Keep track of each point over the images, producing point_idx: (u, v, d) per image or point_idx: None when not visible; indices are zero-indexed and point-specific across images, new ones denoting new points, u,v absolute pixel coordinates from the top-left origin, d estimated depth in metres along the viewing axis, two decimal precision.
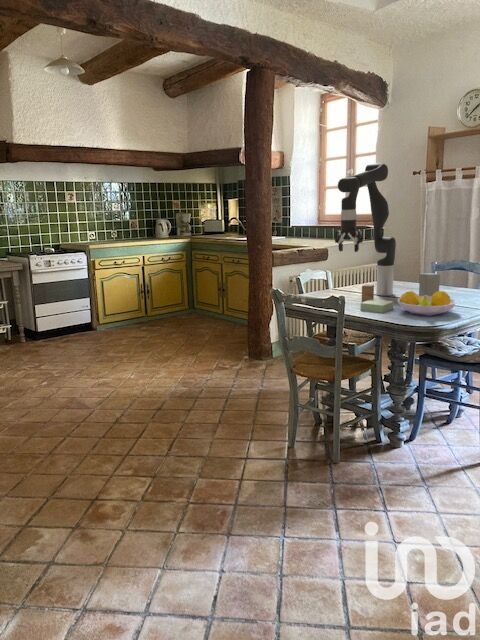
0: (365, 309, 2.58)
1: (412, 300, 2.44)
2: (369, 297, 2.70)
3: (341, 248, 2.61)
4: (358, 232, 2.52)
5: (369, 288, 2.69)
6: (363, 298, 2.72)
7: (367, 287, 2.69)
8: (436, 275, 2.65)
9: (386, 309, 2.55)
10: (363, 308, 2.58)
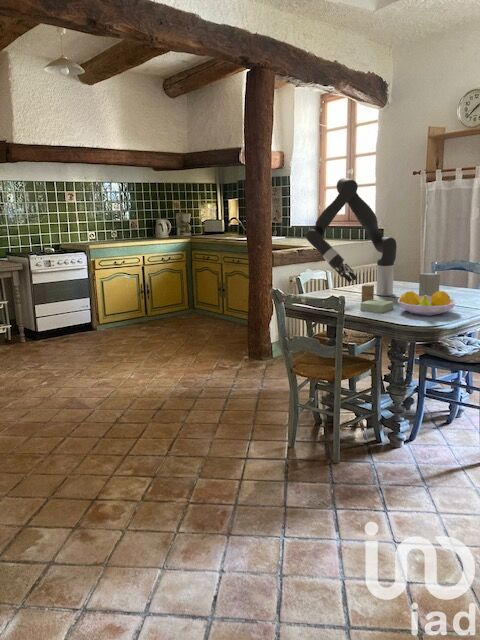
0: (365, 309, 2.58)
1: (412, 300, 2.44)
2: (369, 297, 2.70)
3: (353, 277, 2.79)
4: None
5: (369, 288, 2.69)
6: (363, 298, 2.72)
7: (367, 287, 2.69)
8: (436, 275, 2.65)
9: (386, 309, 2.55)
10: (363, 308, 2.58)
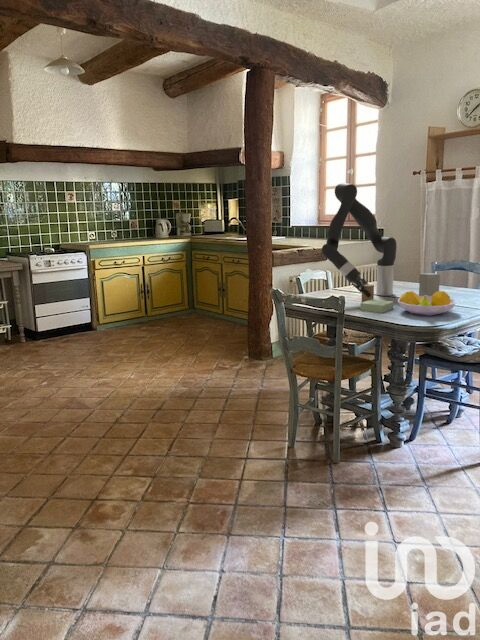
0: (365, 309, 2.58)
1: (412, 300, 2.44)
2: (369, 297, 2.70)
3: None
4: (353, 285, 2.69)
5: (369, 288, 2.69)
6: (363, 298, 2.72)
7: (367, 287, 2.69)
8: (436, 275, 2.65)
9: (386, 309, 2.55)
10: (363, 308, 2.58)
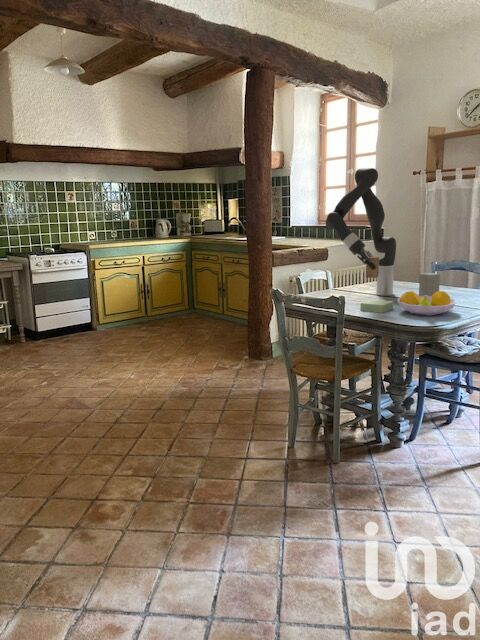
0: (365, 309, 2.58)
1: (412, 300, 2.44)
2: (374, 270, 2.58)
3: None
4: None
5: (374, 260, 2.57)
6: (367, 271, 2.60)
7: (372, 259, 2.58)
8: (436, 275, 2.65)
9: (386, 309, 2.55)
10: (363, 308, 2.58)
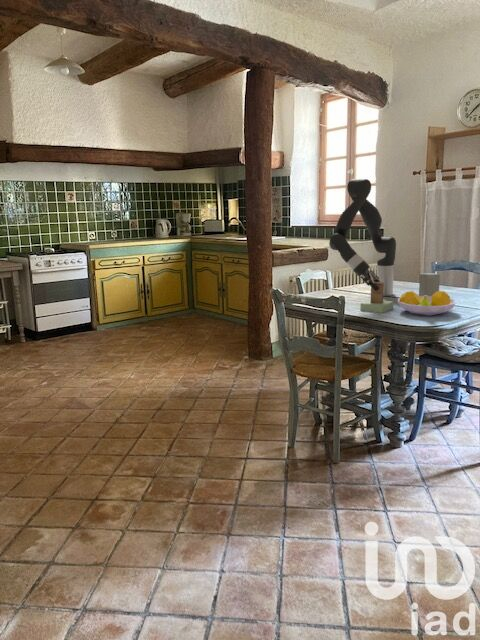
0: (365, 309, 2.58)
1: (412, 300, 2.44)
2: (379, 295, 2.55)
3: None
4: None
5: (379, 286, 2.54)
6: (372, 296, 2.57)
7: (377, 284, 2.55)
8: (436, 275, 2.65)
9: (386, 309, 2.55)
10: (363, 308, 2.58)
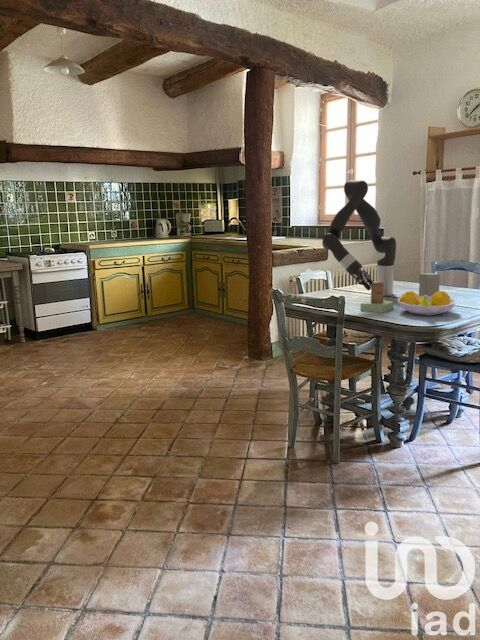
0: (365, 309, 2.58)
1: (412, 300, 2.44)
2: (379, 295, 2.55)
3: None
4: None
5: (380, 286, 2.54)
6: (373, 296, 2.57)
7: (377, 285, 2.55)
8: (436, 275, 2.65)
9: (386, 309, 2.55)
10: (363, 308, 2.58)
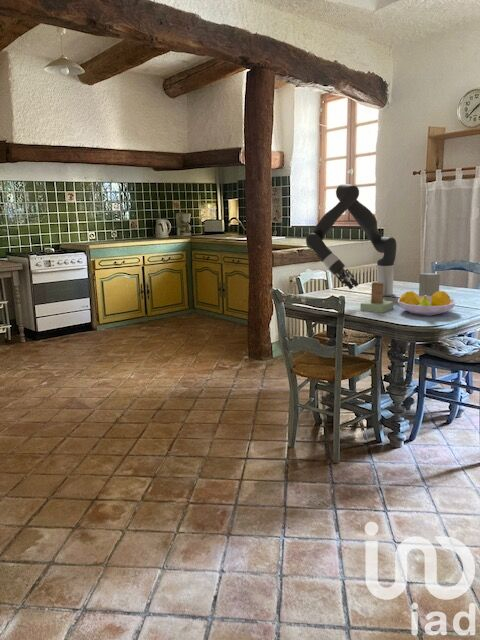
0: (365, 309, 2.58)
1: (412, 300, 2.44)
2: (380, 295, 2.55)
3: (355, 283, 2.67)
4: (336, 276, 2.61)
5: (380, 286, 2.54)
6: (373, 296, 2.57)
7: (377, 285, 2.55)
8: (436, 275, 2.65)
9: (386, 309, 2.55)
10: (363, 308, 2.58)
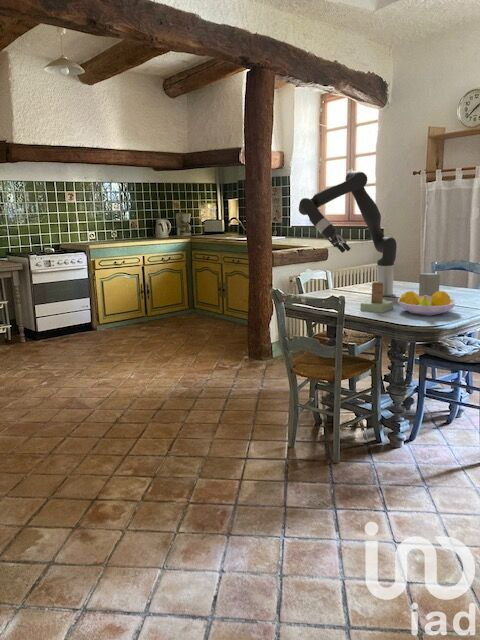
0: (365, 309, 2.58)
1: (412, 300, 2.44)
2: (380, 295, 2.56)
3: (347, 248, 2.71)
4: None
5: (381, 286, 2.54)
6: (373, 296, 2.57)
7: (378, 285, 2.55)
8: (436, 275, 2.65)
9: (386, 309, 2.55)
10: (363, 308, 2.58)
